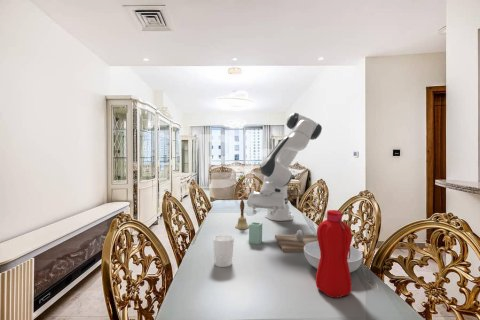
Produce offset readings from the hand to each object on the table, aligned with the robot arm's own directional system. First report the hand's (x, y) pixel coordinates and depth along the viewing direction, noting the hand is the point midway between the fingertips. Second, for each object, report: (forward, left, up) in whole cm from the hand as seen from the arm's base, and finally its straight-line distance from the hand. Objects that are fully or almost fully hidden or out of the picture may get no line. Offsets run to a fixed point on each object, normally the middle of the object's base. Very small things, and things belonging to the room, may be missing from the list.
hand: (262, 214), depth 134 cm
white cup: (+37, -4, -12) cm, 39 cm away
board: (+2, +19, -12) cm, 23 cm away
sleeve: (+8, -1, -12) cm, 15 cm away
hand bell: (-14, -17, -12) cm, 25 cm away
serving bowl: (+24, +35, -12) cm, 44 cm away
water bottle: (+42, +37, -12) cm, 57 cm away
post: (+2, +19, -10) cm, 22 cm away
